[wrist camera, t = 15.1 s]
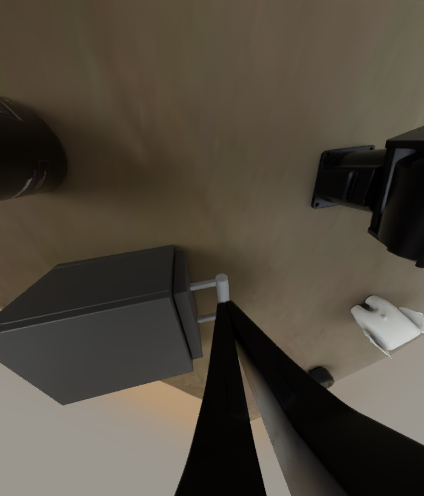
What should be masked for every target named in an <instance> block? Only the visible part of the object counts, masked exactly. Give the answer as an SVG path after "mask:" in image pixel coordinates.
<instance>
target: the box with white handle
mask: <svg viewBox="0 0 424 496" xmlns="http://www.w3.org/2000/svg"><path fill="white" fill-rule="evenodd" d="M213 286H216V289H217V298H218V303H220V302H224V303H225V301H229V287H228V276H227V275H226V274H218V275H217V276H216V277H215V279H211V280H206V281H201V282H196V283H192V282H191V278H190V273H189V268H188V264H187V259H186V254H185V251H180V252H175V265H174V283H173V288H172V299H173V302H174V305H175V309H176V312H177V315H178V318H179V321H180V319H181V323H182V326H183V329H184V332H185V336H186V339H187V342H188V346H189V349H190V352H191V355H192V359H197V358H201V357H203V354H202V346H201V337H200V329H199V323H202V322H206V321H210V320H215V318H216V313H211V314H207V315H202V316H198V312H197V305H196V301H195V296H194V292H193V290H198V289H203V288H208V287H213Z"/></svg>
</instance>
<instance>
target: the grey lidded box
mask: <svg viewBox="0 0 424 496" xmlns="http://www.w3.org/2000/svg"><path fill="white" fill-rule="evenodd" d="M174 265H175V248H174V245H170V246H164V247H158V248H152V249H146V250H140V251H135V252H129V253H123V254H117V255H111V256H105V257H99V258H94V259H88V260H82V261H76V262H70V263H64V264H59V265H56V266H55V267H54V268H53V269H52V270H50V271H49V272H48V273H47V274H46V275H44V276H43V277H42V278H41V279H39V280H38V281H37V282H36V283H35V284H33V285H32V286H31V287H30V288H28V289H27V290H26V291H25V292H24V293H22V294H21V295H20V296H19V297H17V298H16V299H15V300H14V301H13V302H11V303H10V304H9V305H8V306H6V307H5V308H4V309H3V310H2V311H0V363H1V364H3V365H5V366H6V367H7V368H9V369H11V370H12V371H13V372H15V373H16V374H18V375H19V376H20V377H22V378H23V379H25V380H26V381H28V382H29V383H31V384H32V385H34V386H35V387H37V388H38V389H39V390H41V391H43V392H44V393H45V394H47V395H49V396H50V397H51V398H53V399H54V400H56V401H57V402H58V403H60V404H62V405H66V404H70V403H74V402H78V401H81V400H85V399H89V398H93V397H96V396H101V395H104V394H108V393H112V392H116V391H120V390H124V389H127V388H131V387H135V386H139V385H143V384H147V383H150V382H154V381H158V380H162V379H166V378H170V377H173V376H177V375H181V374H185V373H189V372H193V359H192V355H191V352H190V349H189V346H188V342H187V339H186V336H185V332H184V329H183V326H182V323H181V319H180V321H179V318H178V315H177V312H176V309H175V305H174V302H173V299H172V288H173V283H174Z"/></svg>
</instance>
